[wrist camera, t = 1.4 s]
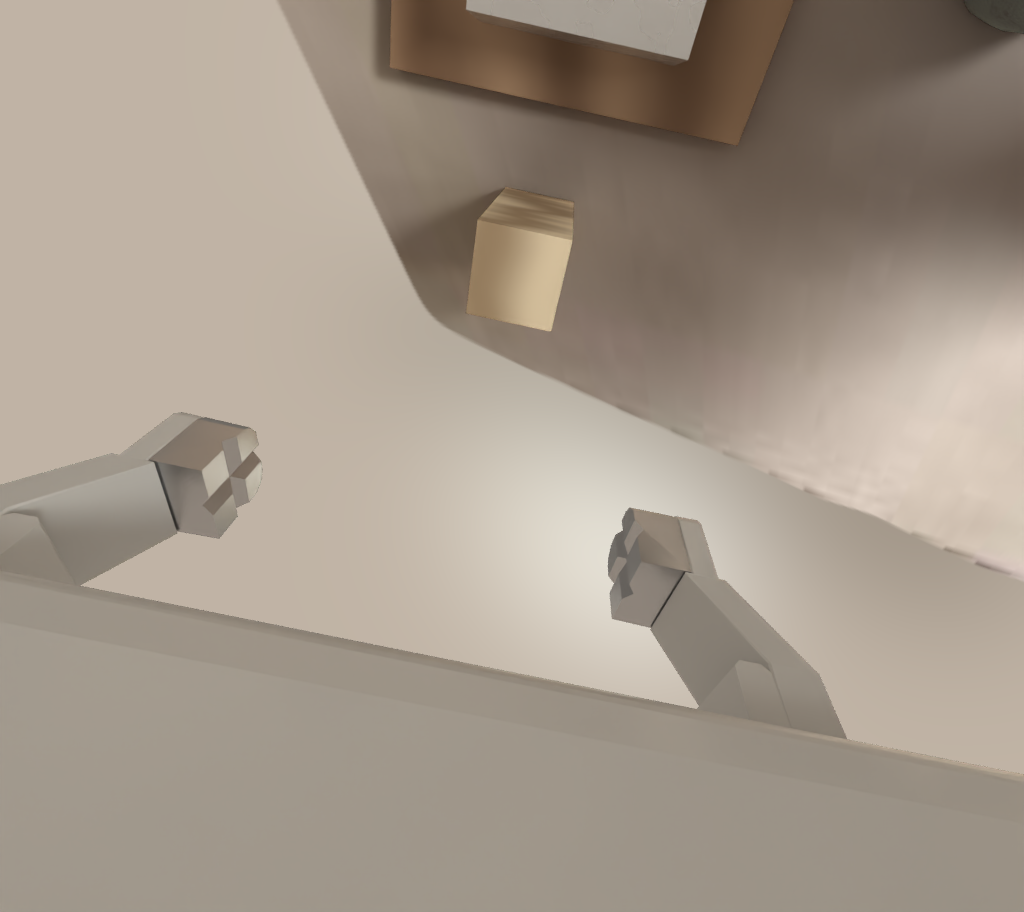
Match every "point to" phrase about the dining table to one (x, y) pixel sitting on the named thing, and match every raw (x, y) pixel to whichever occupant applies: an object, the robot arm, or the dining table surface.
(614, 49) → the steel collar
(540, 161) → the dining table surface
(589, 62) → the walnut base
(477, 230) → the birch pin
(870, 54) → the dining table surface
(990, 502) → the dining table surface
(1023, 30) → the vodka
